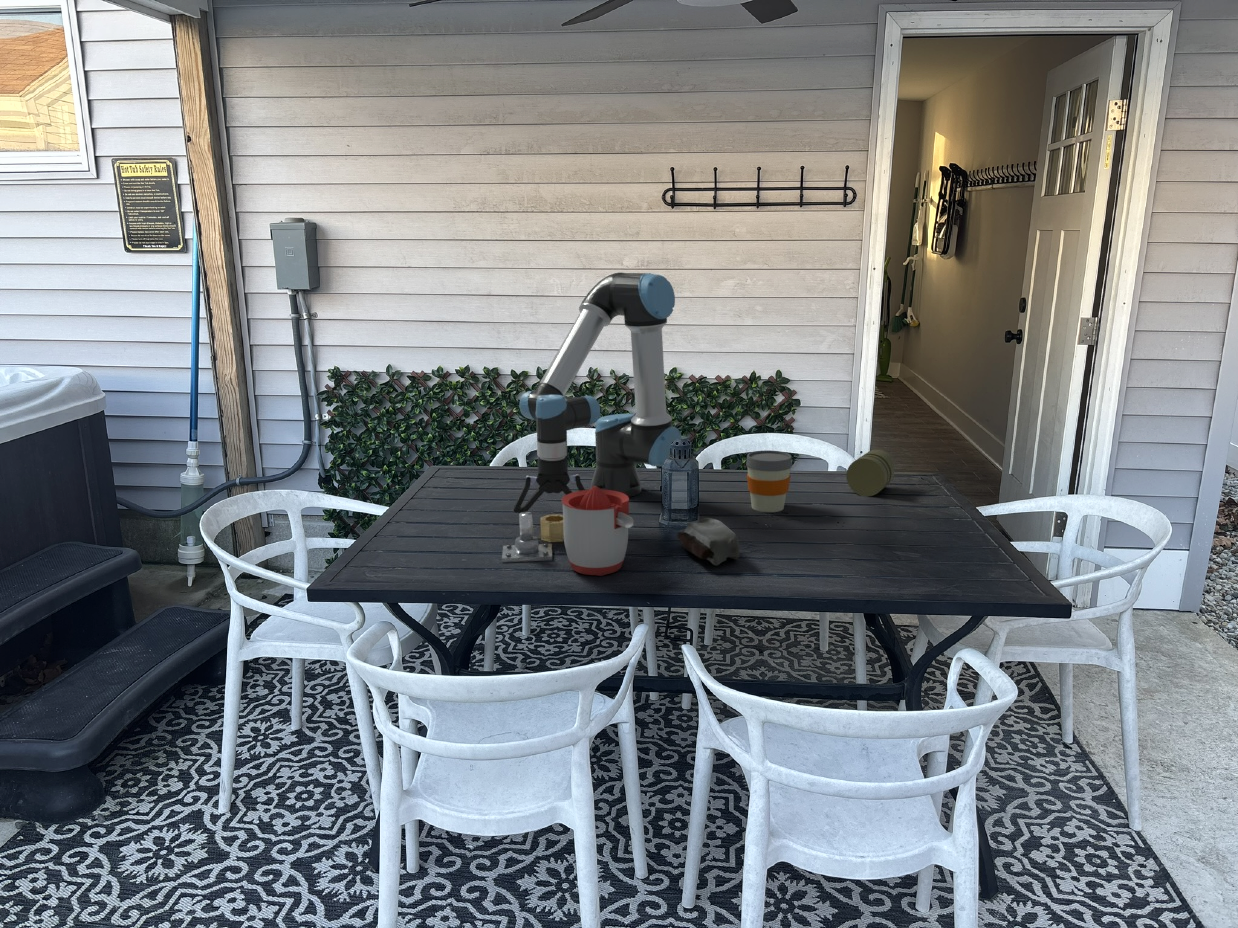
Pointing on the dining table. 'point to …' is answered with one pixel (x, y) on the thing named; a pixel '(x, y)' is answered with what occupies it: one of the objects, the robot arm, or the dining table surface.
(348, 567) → the dining table surface
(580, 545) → the citrus juicer
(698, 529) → the dark grey lump
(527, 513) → the shaft stand
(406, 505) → the dining table surface
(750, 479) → the reusable coffee cup
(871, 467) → the piston
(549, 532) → the hub
